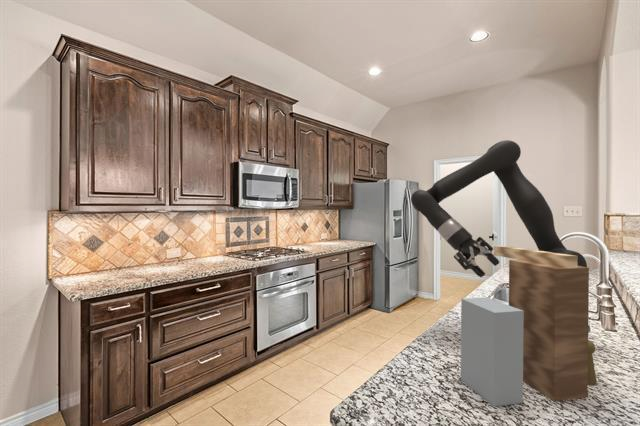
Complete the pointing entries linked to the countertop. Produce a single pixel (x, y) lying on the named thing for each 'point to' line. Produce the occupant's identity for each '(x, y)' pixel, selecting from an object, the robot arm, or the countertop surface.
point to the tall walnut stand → (553, 326)
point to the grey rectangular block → (492, 350)
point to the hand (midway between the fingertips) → (490, 269)
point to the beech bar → (537, 256)
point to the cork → (591, 364)
